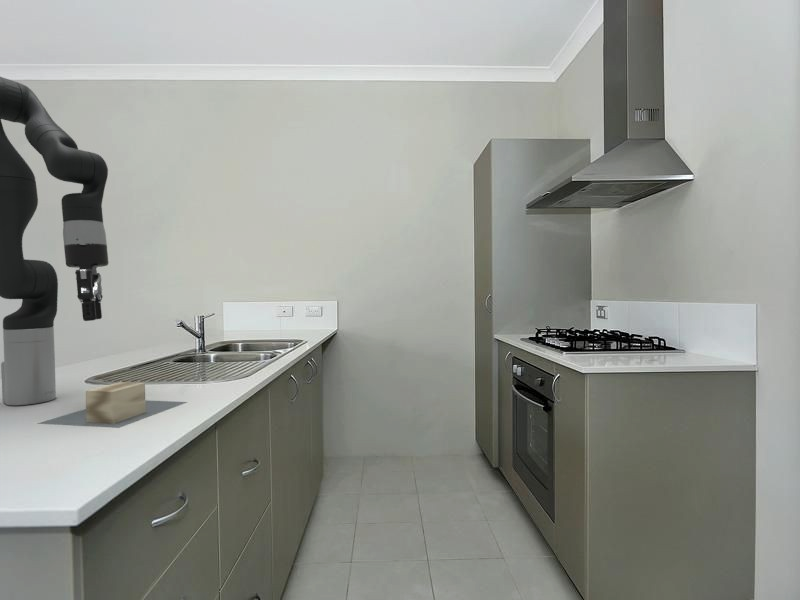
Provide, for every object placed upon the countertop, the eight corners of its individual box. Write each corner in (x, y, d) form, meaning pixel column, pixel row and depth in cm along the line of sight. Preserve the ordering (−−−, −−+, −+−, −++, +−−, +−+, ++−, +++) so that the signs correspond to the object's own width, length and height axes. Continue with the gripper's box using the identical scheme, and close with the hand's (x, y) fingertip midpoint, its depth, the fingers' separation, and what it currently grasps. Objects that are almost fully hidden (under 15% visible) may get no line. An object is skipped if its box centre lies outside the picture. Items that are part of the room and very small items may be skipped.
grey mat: (37, 425, 86) (37, 423, 86) (118, 401, 105) (118, 399, 105) (118, 430, 82) (118, 427, 82) (187, 404, 101) (187, 401, 101)
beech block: (86, 422, 86) (85, 390, 86) (120, 411, 94) (119, 382, 94) (113, 423, 85) (112, 391, 85) (145, 412, 93) (144, 382, 93)
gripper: (70, 248, 101) (77, 320, 102) (56, 240, 89) (64, 323, 89) (110, 247, 105) (117, 317, 105) (102, 239, 92) (109, 319, 93)
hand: (93, 319), depth 97 cm, fingers open, 8 cm apart
